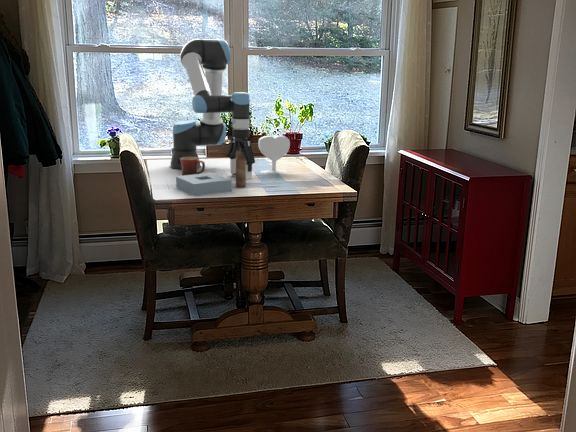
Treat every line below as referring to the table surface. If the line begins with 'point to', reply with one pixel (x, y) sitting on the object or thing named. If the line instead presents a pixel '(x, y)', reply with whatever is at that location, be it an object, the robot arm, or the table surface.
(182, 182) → the socket block
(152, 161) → the table surface
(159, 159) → the table surface
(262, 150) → the heart sculpture
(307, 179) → the table surface
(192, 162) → the mug
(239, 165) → the walnut peg
